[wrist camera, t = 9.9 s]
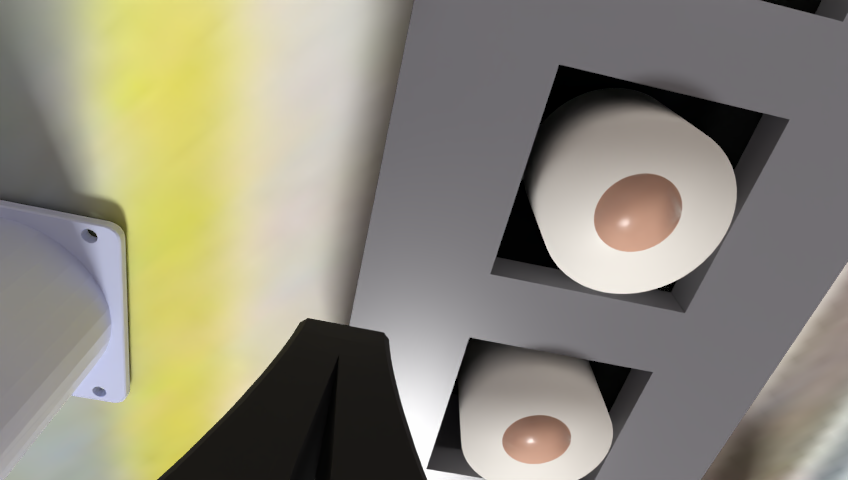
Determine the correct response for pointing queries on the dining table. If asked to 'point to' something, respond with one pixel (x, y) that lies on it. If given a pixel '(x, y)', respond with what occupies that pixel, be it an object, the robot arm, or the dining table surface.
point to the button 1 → (530, 414)
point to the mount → (551, 288)
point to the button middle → (627, 191)
